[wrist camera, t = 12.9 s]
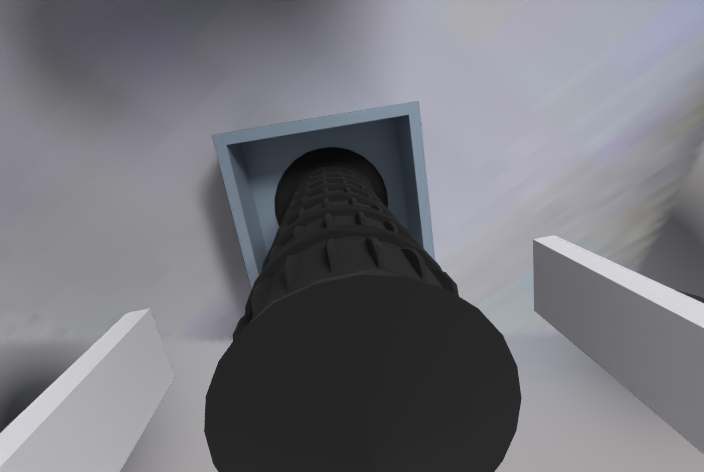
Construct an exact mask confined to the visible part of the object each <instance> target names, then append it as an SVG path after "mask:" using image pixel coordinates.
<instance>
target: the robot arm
mask: <svg viewBox="0 0 704 472" xmlns="http://www.w3.org/2000/svg"><path fill="white" fill-rule="evenodd" d="M533 263H534V311H535V312H537V313H538V314H539V315H540V316H541V317H543V318H544V319H545V320H546V321H547V322H548V323H550V324H551V325H552V326H553V327H554V328H556V329H557V330H558V331H559V332H560V333H561V334H563V335H564V336H565V337H566V338H567V339H569V340H570V341H571V342H572V343H573V344H574V345H576V346H577V347H578V348H579V349H580V350H581V351H583V352H584V353H585V354H586V355H587V356H588V357H590V358H591V359H592V360H593V361H594V362H596V363H597V364H598V365H599V366H600V367H601V368H603V369H604V370H605V371H606V372H607V373H608V374H610V375H611V376H612V377H613V378H615V379H616V380H617V381H618V382H619V383H620V384H622V385H623V386H624V387H625V388H626V389H627V390H629V391H630V392H631V393H632V394H633V395H634V396H636V397H637V398H638V399H639V400H640V401H641V402H643V403H644V404H645V405H646V406H647V407H649V408H650V409H651V410H652V411H653V412H654V413H656V414H657V415H658V416H659V417H660V418H661V419H663V420H664V421H665V422H666V423H668V424H669V425H670V426H671V427H672V428H673V429H674V430H676V431H677V432H678V433H679V434H681V436H683V437H684V438H685V439H686V440H687V441H689V442H690V443H691V444H692V445H693V446H695V447H696V448H697V449H698V450H699V451H700V452H702V453H703V454H704V299H703V298H701V297H699V296H696V295H692V294H688V293H684V292H681V291H677V290H673V289H671V288H669V287H667V286H664V285H662V284H660V283H658V282H656V281H653V280H651V279H649V278H647V277H644V276H642V275H640V274H638V273H636V272H634V271H631V270H629V269H627V268H625V267H623V266H621V265H618V264H616V263H614V262H612V261H610V260H607V259H605V258H603V257H601V256H599V255H596V254H594V253H592V252H590V251H588V250H585V249H583V248H581V247H579V246H577V245H574V244H572V243H570V242H568V241H566V240H563V239H561V238H559V237H557V236H549V237H544V238H538V239H533ZM174 378H175V377H174V374H173V372H172V369H171V365H170V363H169V360H168V357H167V354H166V352H165V349H164V346H163V343H162V340H161V337H160V335H159V332H158V329H157V326H156V323H155V321H154V318H153V315H152V312H151V309H145V310H139V311H134V312H128V313H126V314H125V315H124V316H123V317H122V318H121V319H120V320H119V321H118V322H117V323H116V324H115V325H114V326H112V327H111V328H110V329H109V330H108V331H107V332H106V333H105V334H104V335H103V336H102V337H101V338H100V339H99V340H98V341H97V342H96V343H95V344H94V345H92V346H91V347H90V348H89V349H88V350H87V351H86V352H85V353H84V354H83V355H82V356H81V357H80V358H79V359H78V360H77V361H76V362H75V363H74V364H72V365H71V366H70V367H69V368H68V369H67V370H66V371H65V372H64V373H63V374H62V375H61V376H60V377H59V378H58V379H57V380H56V381H55V382H54V383H53V384H51V385H50V386H49V387H48V388H47V389H46V390H45V391H44V392H43V393H42V394H41V395H40V396H39V397H38V398H37V399H36V400H35V401H34V402H33V403H31V404H30V405H29V406H28V407H27V408H26V409H25V410H24V411H23V412H22V413H21V414H20V415H19V416H18V417H17V418H16V419H14V420H13V421H12V422H10V423H9V424H7V425H6V426H4V427H3V428H1V429H0V472H120V471H121V469H122V467H123V466H124V464H125V462H126V460H127V459H128V457H129V455H130V454H131V452H132V450H133V448H134V447H135V445H136V443H137V442H138V440H139V438H140V436H141V435H142V433H143V431H144V430H145V428H146V426H147V425H148V423H149V421H150V419H151V418H152V416H153V414H154V413H155V411H156V409H157V407H158V405H159V404H160V402H161V401H162V399H163V397H164V395H165V394H166V392H167V390H168V389H169V387H170V385H171V383H172V382H173V380H174Z"/></svg>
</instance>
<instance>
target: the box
mask: <svg viewBox="0 0 704 472" xmlns="http://www.w3.org/2000/svg"><path fill="white" fill-rule="evenodd" d="M212 138H213V141H214V145H215V149H216V153H217V157H218V161H219V165H220V169H221V173H222V176H223V180H224V184H225V188H226V192H227V196H228V200H229V204H230V207H231V211H232V215H233V219H234V223H235V227H236V231H237V235H238V239H239V242H240V246H241V250H242V254H243V258H244V262H245V266H246V270H247V273H248V277H249V281H250V285H251V289H252V287H253V285H254V282H255V280H256V279H257V278H258V276H259V275H260V273H261V272H262V267H263V262H264V260H265V258H266V256H267V254H268V252H269V250H270V248H271V246H272V244H273V241H274V239H275V236H276V233H277V231H278V229H279V224H278V220H277V217H276V214H275V195H276V190H277V185H278V183H279V181H280V179H281V177H282V175H283V173H284V171H285V170H286V169H287V168H288V167H289V166H290V165H291V164H292V162H293V161H294V160H296V159H297V158H299V157H300V156H302V155H303V154H305V153H306V152H309V151H313V150H316V149H319V148H327V147H339V148H344V149H349V150H351V151H353V152H356V153H358V154H360V155H362V156H363V157H365V158H366V159H367V160H368V161H369V162H370V163H371V164H373V165H374V166H375V168H376V169H377V171H378V172H379V174H380V175H381V176H382V178H383V181H384V184H385V187H386V190H387V196H388V209H389V210H390V211H391V212H392V214H393V215H394V216H395V217H396V218H397V219H398V220H399V222H400V223H401V224H402V225H403V226H404V227H405V228H406V229H407V230H408V231H409V233H410V234H411V235H412V237H413V238H414V239H416V240H417V242H418V243H419V244H420V245H421V246H422V247H423V248H424V249H425V250H426V252H427V253H428V254H429V255H430V256H431V257H432V258H433V259H434V260H435V254H434V244H433V235H432V225H431V215H430V206H429V196H428V186H427V177H426V167H425V157H424V148H423V138H422V128H421V119H420V109H419V101H415V102H409V103H403V104H397V105H391V106H385V107H379V108H373V109H367V110H360V111H354V112H348V113H342V114H336V115H330V116H324V117H318V118H312V119H306V120H300V121H294V122H288V123H282V124H276V125H270V126H264V127H258V128H252V129H246V130H240V131H234V132H227V133H221V134H215V135H212Z"/></svg>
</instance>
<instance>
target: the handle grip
mask: <svg viewBox="0 0 704 472" xmlns="http://www.w3.org/2000/svg"><path fill="white" fill-rule="evenodd" d="M275 214H276V217H277V220H278V224H279V229H278V231H277V233H276V236H275V239H274V241H273V244H272V246H271V248H270V250H269V252H268V254H267V256H266V258H265V260H264V262H263V267H262V272H261V273H260V275H259V276H258V278H257V279H256V280H255V282H254V285H253V287H252V290H251V293H250V296H249V298H248V301H247V304H246V309H245V315H244V316H243V317H242V318H241V319H240V320H239V322H238V324H237V327H236V329H235V331H234V333H233V342H232V344H231V345H230V347H229V348H228V349H227V351H226V352H225V353H224V355H223V356H222V358H221V359H220V360H219V362H218V365H217V367H216V370H215V373H214V376H213V378H212V381H211V384H210V386H209V389H208V392H207V395H206V406H205V429H204V432H205V435H206V439H207V443H208V446H209V450H210V453H211V457H212V461H213V464H214V465H215V467H216V469H217V470H218V472H494V471H495V470H496V469H497V467H498V466H499V465H500V463H501V462H502V461H503V459H504V457H505V454H506V452H507V450H508V448H509V445H510V443H511V441H512V439H513V437H514V435H515V432H516V429H517V423H518V417H519V410H520V404H521V392H520V385H519V377H518V369H517V365H516V363H515V361H514V359H513V356H512V354H511V352H510V350H509V348H508V346H507V343H506V341H505V339H504V337H503V335H502V334H501V333H500V332H499V331H498V330H497V329H496V327H495V326H494V325H493V324H492V323H491V322H490V321H489V320H488V319H487V318H486V317H485V315H484V314H483V313H482V312H481V311H480V310H479V309H478V308H476V307H475V306H473V305H471V304H470V303H468V302H467V301H465V300H463V299H462V298H460V297H459V295H458V290H457V284H456V283H455V282H454V281H453V280H452V279H451V278H450V277H449V275H448V274H447V273H446V272H443V271H442V269H441V268H440V266H439V265H438V263H437V262H436V261H435V260H434V259H433V258H432V257H431V256H430V255H429V254H428V253H427V252H426V250H425V249H424V248H423V247H422V246H421V245H420V244H419V243H418V242H417V240H416V239H414V238H413V237H412V235H411V234H410V233H409V231H408V230H407V229H406V228H405V227H404V226H403V225H402V224H401V223H400V222H399V220H398V219H397V218H396V217H395V216H394V215H393V214H392V212H391V211H390V210H389V209H388V196H387V190H386V187H385V184H384V181H383V178H382V176H381V175H380V174H379V172H378V171H377V169H376V168H375V166H374V165H373V164H371V163H370V162H369V161H368V160H367V159H366V158H365V157H363V156H362V155H360V154H358V153H356V152H353V151H351V150H349V149H344V148H339V147H327V148H319V149H316V150H313V151H309V152H306V153H305V154H303V155H302V156H300V157H299V158H297V159H296V160H294V161H293V162H292V164H291V165H290V166H289V167H288V168H287V169H286V170H285V171H284V173H283V175H282V177H281V179H280V181H279V183H278V185H277V190H276V195H275Z"/></svg>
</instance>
